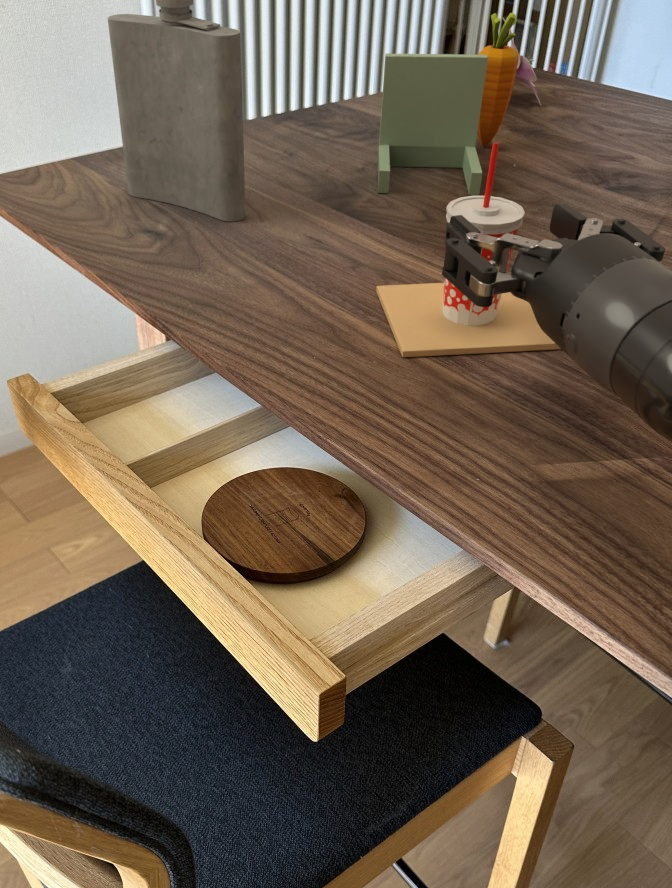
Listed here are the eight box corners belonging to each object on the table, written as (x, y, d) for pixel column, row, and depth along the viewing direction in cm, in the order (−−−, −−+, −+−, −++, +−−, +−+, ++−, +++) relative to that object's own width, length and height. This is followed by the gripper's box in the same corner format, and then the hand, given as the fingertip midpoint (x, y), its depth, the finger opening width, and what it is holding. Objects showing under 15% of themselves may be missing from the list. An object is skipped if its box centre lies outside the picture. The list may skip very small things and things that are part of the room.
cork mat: (525, 284, 79) (526, 278, 78) (569, 349, 70) (571, 342, 69) (376, 291, 78) (376, 285, 78) (402, 357, 69) (402, 351, 69)
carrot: (462, 140, 110) (480, 7, 100) (501, 140, 110) (522, 7, 100) (467, 153, 107) (486, 15, 97) (507, 153, 106) (530, 15, 96)
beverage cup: (506, 300, 75) (537, 133, 66) (504, 333, 71) (537, 158, 61) (436, 293, 76) (458, 128, 67) (430, 326, 72) (451, 153, 62)
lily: (520, 125, 118) (566, 56, 113) (452, 78, 120) (494, 8, 115) (532, 130, 128) (574, 67, 124) (469, 87, 130) (508, 23, 125)
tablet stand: (471, 164, 103) (487, 54, 95) (479, 195, 96) (497, 78, 88) (377, 163, 104) (385, 53, 96) (377, 193, 97) (386, 76, 89)
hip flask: (122, 193, 97) (97, -12, 84) (146, 183, 100) (125, -18, 86) (234, 223, 90) (225, 5, 77) (256, 211, 93) (251, -2, 79)
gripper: (742, 247, 52) (600, 162, 64) (530, 274, 49) (423, 180, 61) (701, 356, 57) (577, 258, 69) (507, 386, 54) (412, 279, 66)
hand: (504, 222), depth 65 cm, fingers open, 8 cm apart
